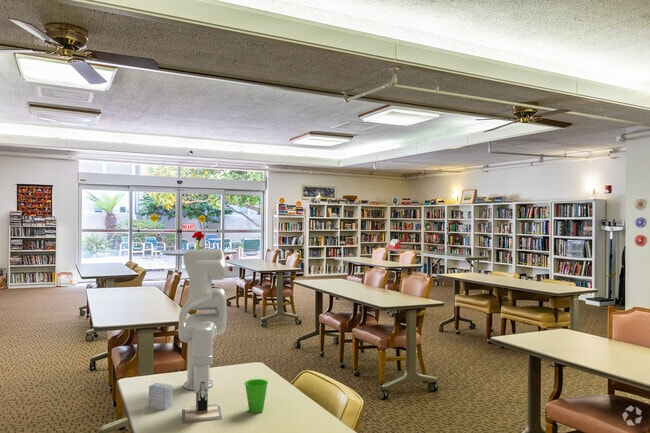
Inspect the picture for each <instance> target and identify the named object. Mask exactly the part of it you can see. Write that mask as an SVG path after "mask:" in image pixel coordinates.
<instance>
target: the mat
mask: <svg viewBox="0 0 650 433" xmlns="http://www.w3.org/2000/svg"><path fill="white" fill-rule="evenodd" d="M217 406H218V411H219V419H212V420H203V421H194V422H185V408H182V410H181V422H182V423H181V424H182V425H184V424H194V423H204V422H212V421H214V422H215V421H222V420H223V415H222V411H221V410H222V409H221V407H220V405H217Z"/></svg>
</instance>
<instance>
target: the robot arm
mask: <svg viewBox="0 0 650 433" xmlns="http://www.w3.org/2000/svg"><path fill="white" fill-rule="evenodd" d="M225 256H226V255H225V253H224V251H223V250H222V249H193V250H191V249H190V250H187V251H185V252H184V254H183V259H182V260H183V264H184V265H183V266H184V267H185V271H186V272H187V275H188V279H189V280H188V281H189V290H188V291H189V293H188V296H189V297H188V300H187V301H186V302H185V303H184V304H183V306H182V307H181V309H180V312H179V314H178V332H177V333H178V338H179V341H181V343H186V344H187V368H186V369H187V372H186V376H187V379H186V380H187V381H185V382H184V383H183V388H184V389H186V390H189V391H193V392H194V394H195V395H196V393H198V392H199V400H198V411H206V410H207V397H206V393H207V392H208V393H209V388H212V386H213V385H214V381H213V380H212V379H210V377H211V374H210V373H211V370H210V369H211V365H212V364H213V363H214V362H213V356H214V355H213V354H214V353H213V350H214V347H213V345H214V342H213V340H215V338H216V336H217V335H221V334H222V335H223V334H224V333H226V330H227V315H228V314H227V295H226V291H225V290H224V288H222V287H213V284H212V282H213V281H221V280H224V279H225V278H226V277H227V270H228V269H227V262H226V257H225ZM191 310H193V311H215V312H200V313H199V312H198V313H191V315H189V316H188V313H189V312H190V311H191Z"/></svg>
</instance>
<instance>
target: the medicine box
mask: <svg viewBox="0 0 650 433" xmlns="http://www.w3.org/2000/svg"><path fill="white" fill-rule="evenodd" d="M171 407H173V385H172V384H169V383H168V384H167V383H160V382H155V383H152V384H151V385H149V386H148V408H149V409H150V408H151V409H157V410H163V411H167V410H168V409H170V408H171Z"/></svg>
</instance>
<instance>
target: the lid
mask: <svg viewBox="0 0 650 433" xmlns="http://www.w3.org/2000/svg"><path fill="white" fill-rule="evenodd" d="M208 393H209V391H208V392H207V393H206V397H207V410H206V411H198V400H199V392H198V393H196V394H195V395H196V396H195V398H196V399H195V406H194V405H193V406H184V409H185V422H194V421H203V420H212V419H219V411H218V406H219V405H218V404H217V403H214V404H209V399H208V398H209V396H208V395H209V394H208Z"/></svg>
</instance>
